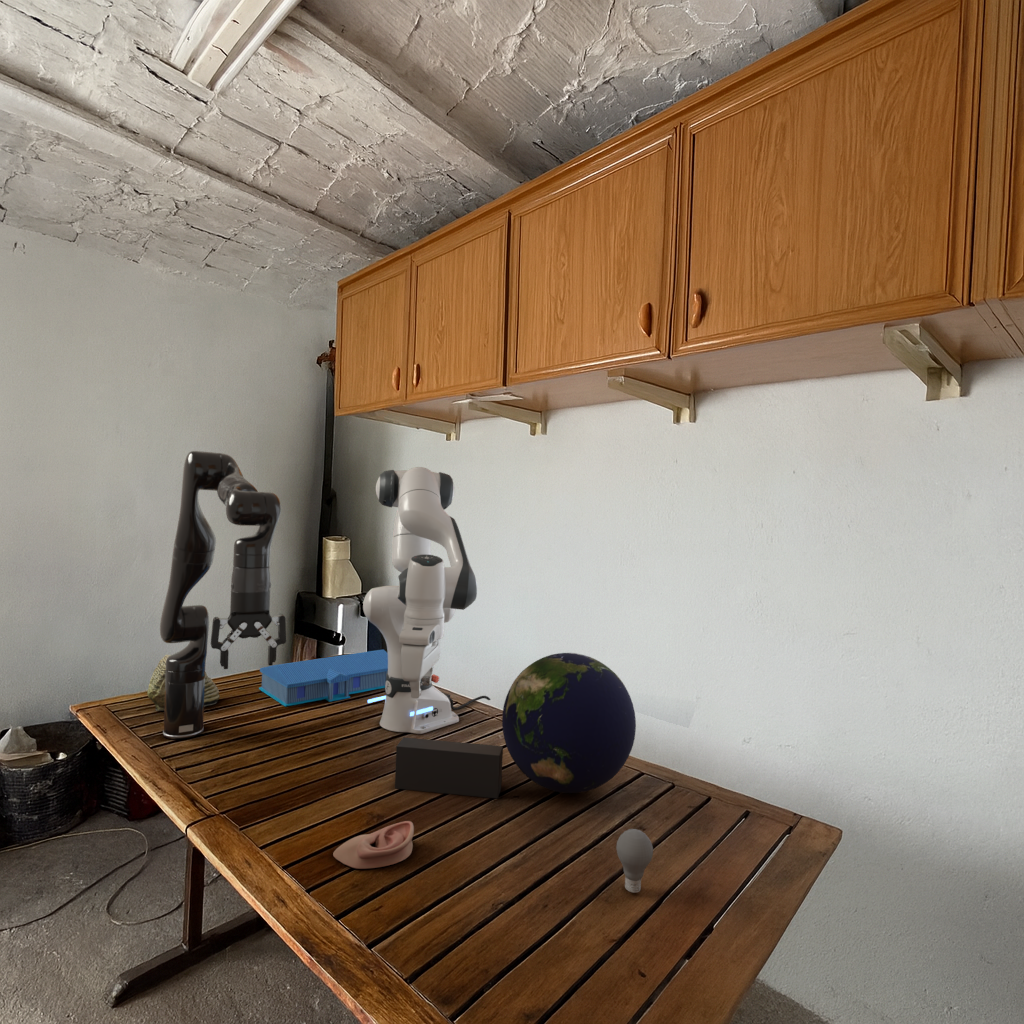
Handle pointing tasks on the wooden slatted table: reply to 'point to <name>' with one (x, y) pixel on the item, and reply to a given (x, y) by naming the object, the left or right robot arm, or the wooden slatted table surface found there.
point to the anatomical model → (378, 847)
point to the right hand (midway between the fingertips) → (421, 690)
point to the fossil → (158, 687)
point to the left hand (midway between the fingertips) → (248, 666)
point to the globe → (569, 723)
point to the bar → (449, 767)
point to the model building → (325, 677)
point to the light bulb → (634, 857)
